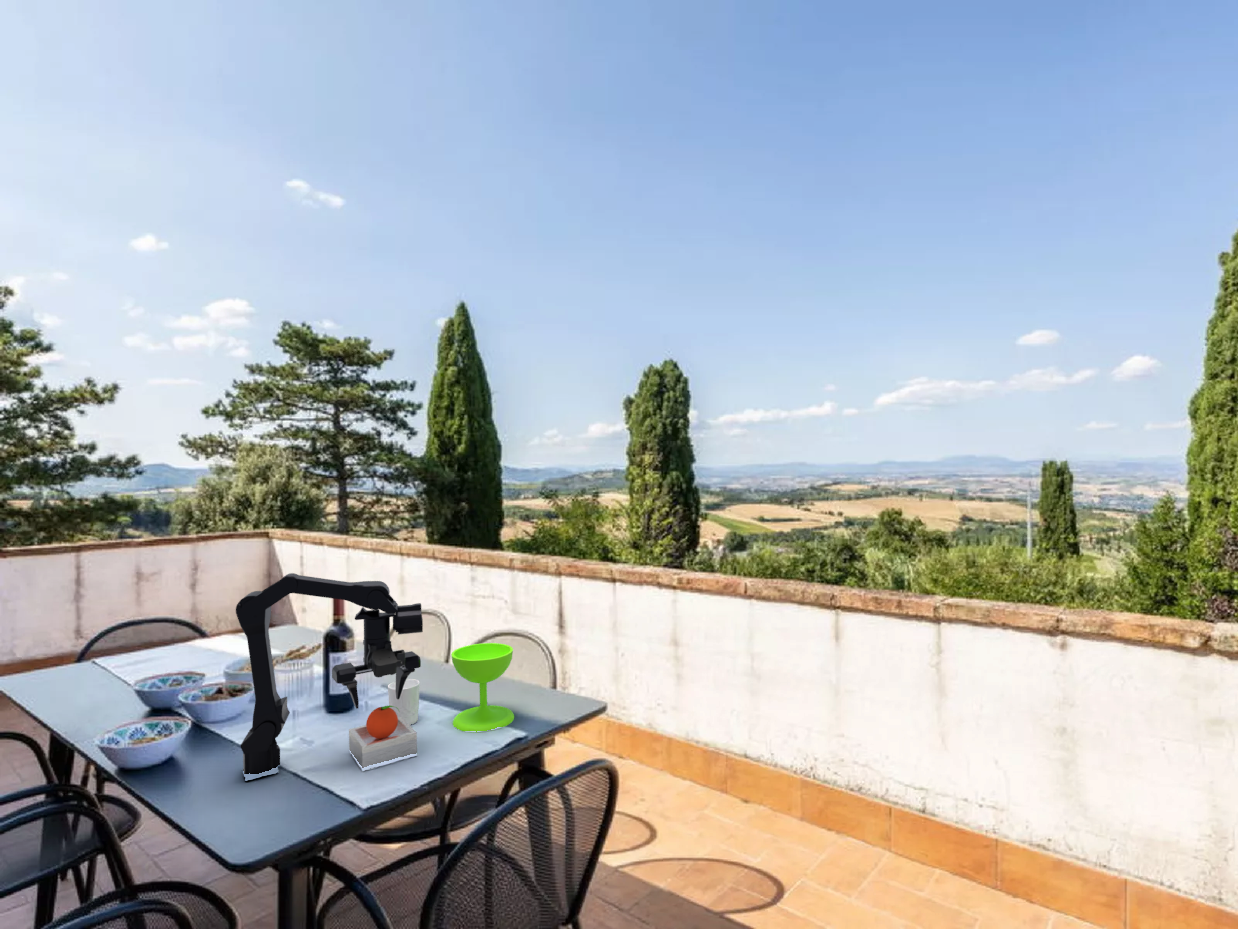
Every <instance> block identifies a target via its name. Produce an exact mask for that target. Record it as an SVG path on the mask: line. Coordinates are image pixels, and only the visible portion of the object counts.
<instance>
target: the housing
mask: <svg viewBox="0 0 1238 929" xmlns="http://www.w3.org/2000/svg"><path fill="white" fill-rule="evenodd" d="M417 733H418V732H417V731H416V730H415V729H414V728H413V727H412V725H409V724H408V723H407V722H406V721H405V720H404V719H403V718H402V717H401V716H400V717H398V724H397V727H396V729H395V731H394V732H393V733H392V734H391V735H390V736H388V737H386V738H382V739H377V738H374V737H372V736H371V735H370V734H369V733H368V731H367V727H366V724H365V725H361V726H357V727H353V728H349V729H348V747H349V748H348V749H349V750H350V751H351V753H352V754H353V755H354V757H355V758H356V759H357V761H358V762H359V764H360V765H361V766H362V768H364V767H367V766H369V765H373V764H377V763H381V762H384V761H389V760H392V759H395V758H398V757H404V756H407V755H410V754H416V753H417V754H418V737H417V735H418V734H417ZM349 750H348V751H349Z"/></svg>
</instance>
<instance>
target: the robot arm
mask: <svg viewBox="0 0 1238 929" xmlns="http://www.w3.org/2000/svg"><path fill="white" fill-rule="evenodd" d="M390 592H391V591H390V587H389V586H388V585H387V583H386V582H384V581H380V580H366V581H365V580H364V581H355V582H354V581H352V582H351V581H350V582H349V581H345V580H344V581H343V580H335V579H328V578H321V577H315V576H308V575H307V576H306V575H300V574H297V573H293V572H290V573H288V574H285V575H284V576H282V578H281V579H279V580H277V581H276V582H275V583H272V584H271V585H269V586H267V587H266V588H264V589H263V590H255V591H251V592H249V593H248V594H246V595H245V596H244V597H243V598H241V599H240V600H239V602H237V604H236V606H235V614H236V618H237V620H238V623H239V626H240V628H241V630H242V631H243V633H244V635H245V637H246V639H247V648H248V653H249V654H248V656H249V661H250V669H251V670H250V671H251V677H252V683H253V693H254V698H255V700H254V701H255V702H254V706H253V716H252V725H251V726H252V727H251V728H250V729H249V731H248V732H247V734H246V735H245V737H244V739H243V741H242V742H241V744H240V745H239V746H240V749H241V751H242V760H243V761H242V764H243V765H242V767H243V768H242V769H243V771H244V774H249V773H250V774H259V773H262V772H265V771H269V770H271V769H272V768H276V767H277V766H278V765H280V766H281V749H280V748H281V747H280V746H279V744H278V742H277V739H276V738H278V737H279V735H281V733H282V730H283V729H284V726H285V724H286V721H287V719H288V717H289V716H290V713H291V712H290V710H289V708H288V696H284V697H280V694H279V692H278V691H277V685H276V677H275V671H274V670H275V669H274V663H273V655H272V654H273V653H272V647H271V641H270V640H271V639H270V633H269V631H270V630H269V628H270V623H271V617H272V606H274V605H275V604H276V603H278V602H279V601H281V600H283V599H284V598H285V597H287V596H289V595H290V594H297V595H305V596H312V597H320V598H326V599H335V600H341V601H347V602H350V603H353V604H355V605H357V606H359V607H361V608H360V610H359V611H358V612H357V613H356V614H355V616H354V620H355V621H360V620H363V640H362V646H363V657H362V658H363V659H362V660H363V664H359V665H354V664H353V663H352V662H345V663H340V664H335V665H334V666H333V667H332V669H331V679H333V681H334V682H335V683H336V684H341V685H342V686H345V687H346V688H347V690H348V692H349V694H350V698H351V699H352V702H353V705H354V707H355V709H356V710H357V709H359V695H358V694H359V693H358V681H357V680H356V677H357V675H361V674H367V673H373V676H374V677H376V678H382V677H384V676H389V675H390V676H393V675H395V681H396V698H397V699H399V698H400V695H401V692H402V689H403V686H404V684H405V681H406V679H408V677H409V676H410V675H411V673H414V672H416V669H419V668H421V667H422V666H421V662H422V661H421V657H420V656H419V655H418V654H417V653H415V652H414V651H405V649H399V650H393V648H392V641H391V624H390V623H391V619H390V618H392V631H393V632H395V633H397V635H409V634H418V633H420V634H421V633H423V630H424V628H423V626H424V625H423V624H424V623H423V622H424V621H423V615H422V603H421V602H420V603H419V602H418V603H412V604H404V605H399V604H398V603H397V601H396V600H395V599H394V597H393V596H392V595H391V594H390ZM366 608H367V609H366ZM368 609H369V610H368ZM380 611H382V612H380Z"/></svg>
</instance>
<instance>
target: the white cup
mask: <svg viewBox="0 0 1238 929" xmlns="http://www.w3.org/2000/svg"><path fill="white" fill-rule="evenodd" d="M387 695H388V706H394V707H389V708H391V709H393V710H394V711H395V712H396V714H397V717H400V716H401V717H402V718H403V719H404V720H405V721H406V722H407V723H408V724H409V725H410V726H412V725H414V724H416V723H417V722H418V721H419V709H420V708H419V707H420V681H419V679H414V678H407V679H406V681H405V684H404V686H403V689H402V692H401V695H400V698H399V699H397V698H396V680H395V681H392V682H391V683H389V684H388V685H387ZM396 707H397V708H398V709H399V710H398V709H397V708H396ZM411 724H412V725H411Z"/></svg>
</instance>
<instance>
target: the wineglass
mask: <svg viewBox="0 0 1238 929" xmlns="http://www.w3.org/2000/svg"><path fill="white" fill-rule="evenodd" d="M513 652H514V648H513V647H512V646H511V645H508V644H507V643H506V644H505V643H498V642H485V643H482V642H481V643H474V644H469V645H464V646H461V647H458V648H456V649H454V650H453V651H452V652H451V655H450V657H451V662H452V664H453V668H454V669H455V671H456V673H457V674H459V676H460V677H461V678H462V679H465V680H467V681H468V682H469V683H475V684H478V685H479V686H478V687H479V706H474V707H471V708H467V709H464V710H462V711H461V712H458V714H457V715H455V716H454V718H453V720H452V726H453V728H455V727H456V728H457V729H456V728H455V729H456V730H458V729H459V731H461V732H465V731H476V732H475V733H478V732H477V731H487V730H491V729H495V728H497V727H503V728H505V727H507V726H508V725H510V724H512V722H513V721H514V720H515V714H514V713H513V710H511V709H510V708H508V707H505V706H502V705H501V706H500V705H496V704H495V705H493V704H492V705H491V704H490V705H488V690H487V689H488V683H490V682H492V681H493V682H494V681H496V680H497V679H499V677H501V676H503V675H504V674H505V672H506V671H507V669H508V668H509V667H510V665H511V661H512V659H513ZM487 732H488V731H487Z"/></svg>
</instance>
